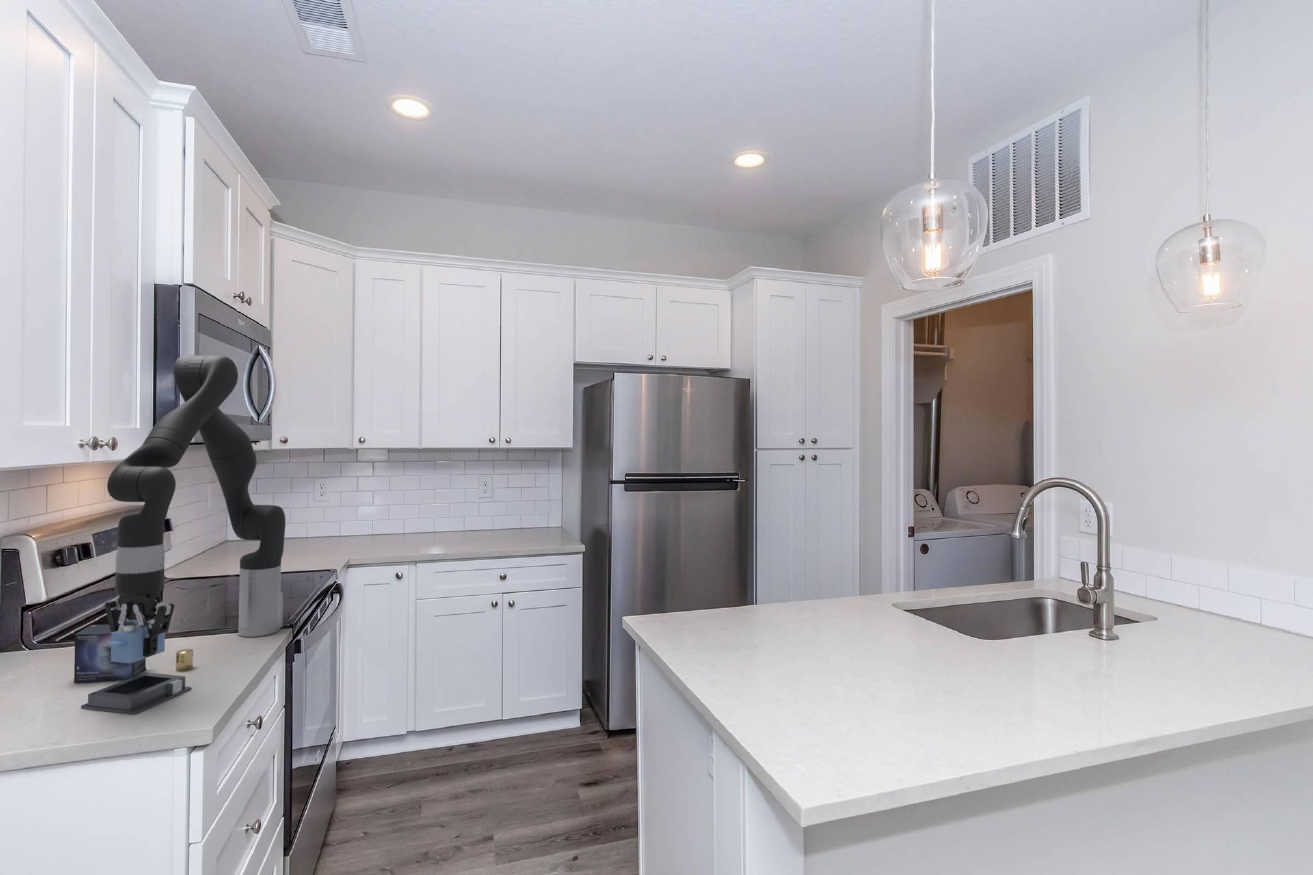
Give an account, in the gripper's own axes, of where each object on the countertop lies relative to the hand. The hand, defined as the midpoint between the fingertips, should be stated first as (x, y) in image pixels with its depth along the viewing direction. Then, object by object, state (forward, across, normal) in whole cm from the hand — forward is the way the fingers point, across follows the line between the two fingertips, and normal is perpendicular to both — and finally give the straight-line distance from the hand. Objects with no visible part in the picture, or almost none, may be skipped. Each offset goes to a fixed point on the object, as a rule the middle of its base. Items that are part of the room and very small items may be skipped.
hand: (138, 654), depth 127 cm
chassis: (+9, 0, 0) cm, 9 cm away
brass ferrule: (+9, +5, -15) cm, 18 cm away
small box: (+9, +16, -8) cm, 20 cm away
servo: (0, 0, 0) cm, 0 cm away
